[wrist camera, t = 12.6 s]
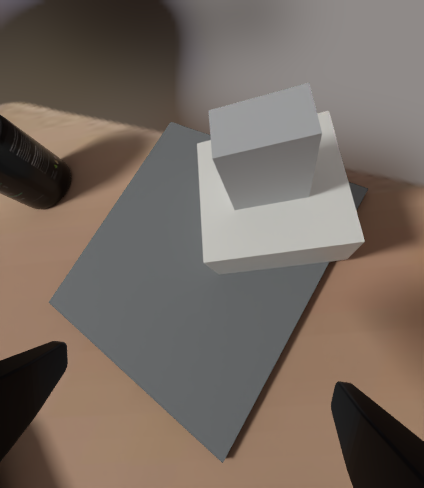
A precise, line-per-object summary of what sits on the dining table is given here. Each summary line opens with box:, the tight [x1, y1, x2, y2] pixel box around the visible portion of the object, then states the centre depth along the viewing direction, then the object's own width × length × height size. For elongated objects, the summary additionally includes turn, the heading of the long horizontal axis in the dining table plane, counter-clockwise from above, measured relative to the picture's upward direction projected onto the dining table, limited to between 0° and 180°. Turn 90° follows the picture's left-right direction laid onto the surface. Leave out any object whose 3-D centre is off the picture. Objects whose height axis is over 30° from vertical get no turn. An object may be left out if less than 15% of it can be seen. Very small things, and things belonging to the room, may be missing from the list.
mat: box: [49, 122, 368, 463], centre depth 23 cm, size 21×23×1 cm
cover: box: [197, 83, 365, 275], centre depth 17 cm, size 10×10×10 cm
